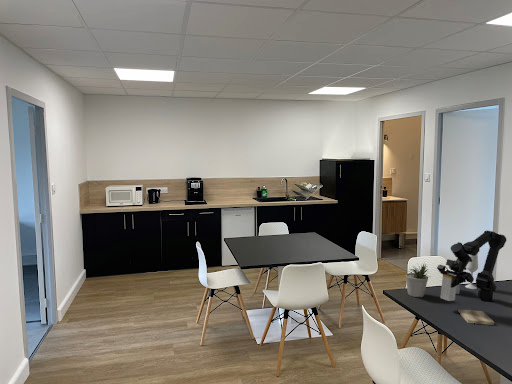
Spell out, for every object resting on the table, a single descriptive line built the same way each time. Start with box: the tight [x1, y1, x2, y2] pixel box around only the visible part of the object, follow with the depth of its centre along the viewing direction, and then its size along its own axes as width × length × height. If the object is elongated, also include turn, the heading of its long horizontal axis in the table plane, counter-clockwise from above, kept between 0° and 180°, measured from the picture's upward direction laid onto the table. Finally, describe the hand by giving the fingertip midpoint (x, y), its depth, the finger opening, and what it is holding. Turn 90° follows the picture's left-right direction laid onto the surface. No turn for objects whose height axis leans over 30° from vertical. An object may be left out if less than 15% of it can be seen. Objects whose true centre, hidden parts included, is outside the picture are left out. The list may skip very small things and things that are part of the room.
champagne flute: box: [465, 252, 479, 290], centre depth 247 cm, size 7×7×24 cm
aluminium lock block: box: [439, 274, 456, 302], centre depth 210 cm, size 5×5×13 cm
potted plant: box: [405, 261, 431, 298], centre depth 231 cm, size 13×14×20 cm
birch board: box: [457, 309, 495, 326], centre depth 199 cm, size 12×14×2 cm
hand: (447, 285), depth 209 cm, fingers closed on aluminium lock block, 5 cm apart
